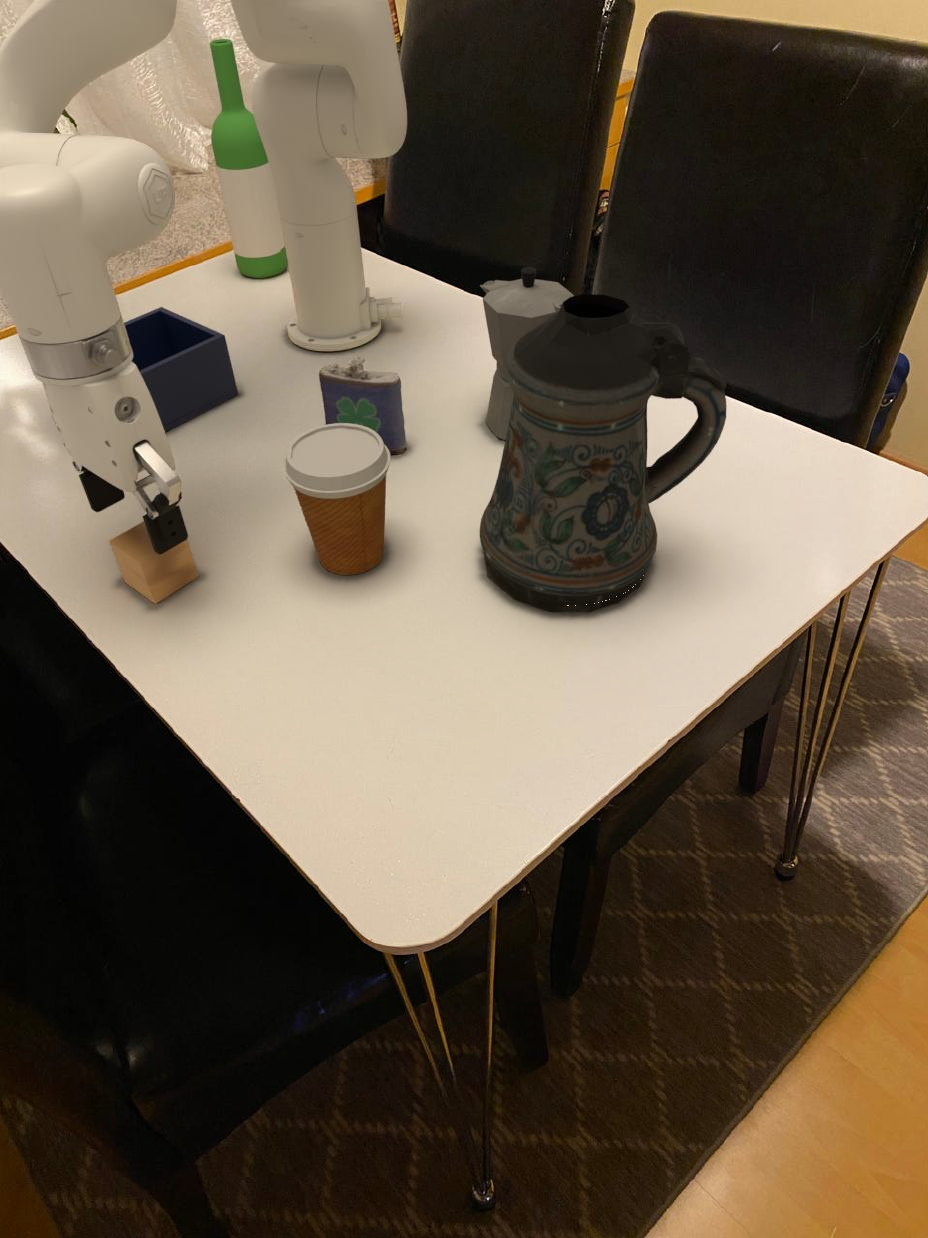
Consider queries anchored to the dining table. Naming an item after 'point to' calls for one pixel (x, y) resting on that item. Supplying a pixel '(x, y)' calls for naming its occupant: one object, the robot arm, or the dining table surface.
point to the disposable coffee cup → (341, 493)
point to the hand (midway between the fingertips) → (139, 524)
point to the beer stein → (590, 453)
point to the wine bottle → (245, 175)
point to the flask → (365, 401)
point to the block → (152, 564)
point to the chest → (181, 365)
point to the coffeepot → (514, 330)
